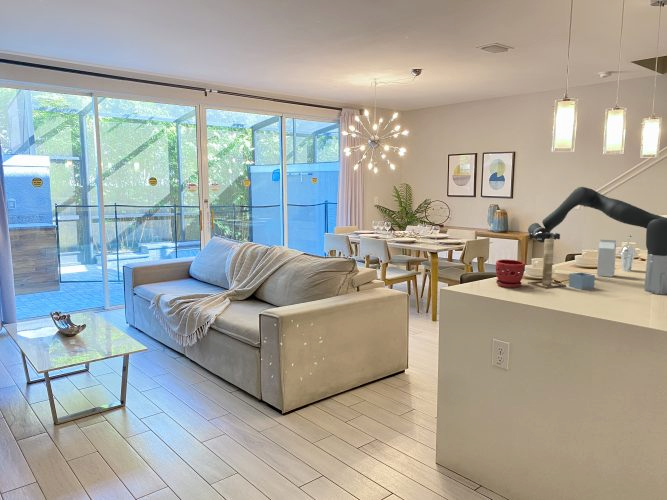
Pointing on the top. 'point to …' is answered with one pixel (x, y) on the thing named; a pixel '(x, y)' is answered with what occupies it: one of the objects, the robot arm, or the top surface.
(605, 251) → the milk carton
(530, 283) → the walnut tray
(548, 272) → the oak dowel
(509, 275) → the plant pot
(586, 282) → the blue cube
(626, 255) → the cup with straw
